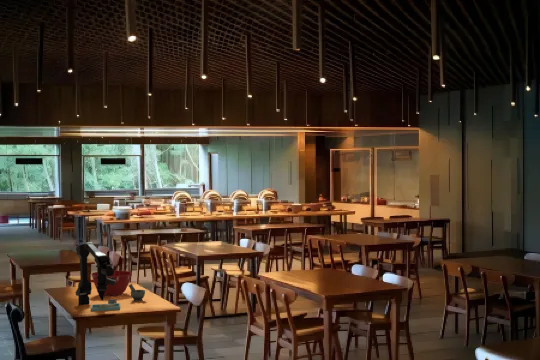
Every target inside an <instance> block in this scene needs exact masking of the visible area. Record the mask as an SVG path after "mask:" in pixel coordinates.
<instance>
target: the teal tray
mask: <svg viewBox="0 0 540 360" xmlns="http://www.w3.org/2000/svg"><path fill="white" fill-rule="evenodd" d="M107 304H108V303H98V304H97V303H96V304H91V306H90V312H105V311H108V312H109V311H121V303H120V302H117V303H114V305H115V307H100V305H107Z"/></svg>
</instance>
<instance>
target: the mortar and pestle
mask: <svg viewBox="0 0 540 360" xmlns="http://www.w3.org/2000/svg"><path fill="white" fill-rule="evenodd" d="M128 288H129V289H130V297H131V299H133V301H134V302H143V298H144V297H145V295H146V290H145V289H136V288H135V287H134V286H133V284H132V283H129V284H128Z"/></svg>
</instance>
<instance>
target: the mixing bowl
mask: <svg viewBox="0 0 540 360" xmlns="http://www.w3.org/2000/svg"><path fill="white" fill-rule="evenodd" d="M132 274H133V273H132V272H131V271H129V270H128V271H127V270H114V273H113V275H112V276H107V278H111V277H113V278H114V280H116V282H115V285H114V286H112V285H110V284H107V290H106V291H105V292H104V297H117V296H121V295H122V294H123V293H125V292H126V290H127V289H128V288H127V287H129V285H130V281H131V277H132ZM90 275H91V278H92V280H93V281H92V282H93V284H94V287H95V289H96V290H97V286H98V285H97V271H95V272H92V273H90Z"/></svg>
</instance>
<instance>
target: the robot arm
mask: <svg viewBox="0 0 540 360" xmlns="http://www.w3.org/2000/svg"><path fill="white" fill-rule="evenodd" d="M75 251H76V255H77V257H78V258H79V275H80V277H79V278H80V281H79V282H78V284H77V289H76V290H75V296H77V298H78V302H77V303H78V304H77V306H81V305H89V304H90V295H92V289H93V288H92V282H91V281H90V279H89V273H88V268H89V267H88V257H89V255H91V256H92V257H93V258H94V259H93V261H94V262H95V263H96V265H95V268H97V269H96V270H97V271H96V272H97V285H98V286H97V289H96V291H97V293H98V296H99V298H100V300H101V301H104V298H105V296H104V292H105V291H106V290H107V284H110V285H112V286H114V285H115V282H116V280H114V278H113V277H111V278H107V276H112V275H113V273H114V271H115V269H114V268H113V267H112V265H111V261H110V259H109V256H108V255H107V254H105V253H104V252H101V251H100V250H99V249H98V248H97V247H96V246H95V245H94V242H92V241H90V242H84V243H83V244H78V245H77V247H75Z"/></svg>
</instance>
